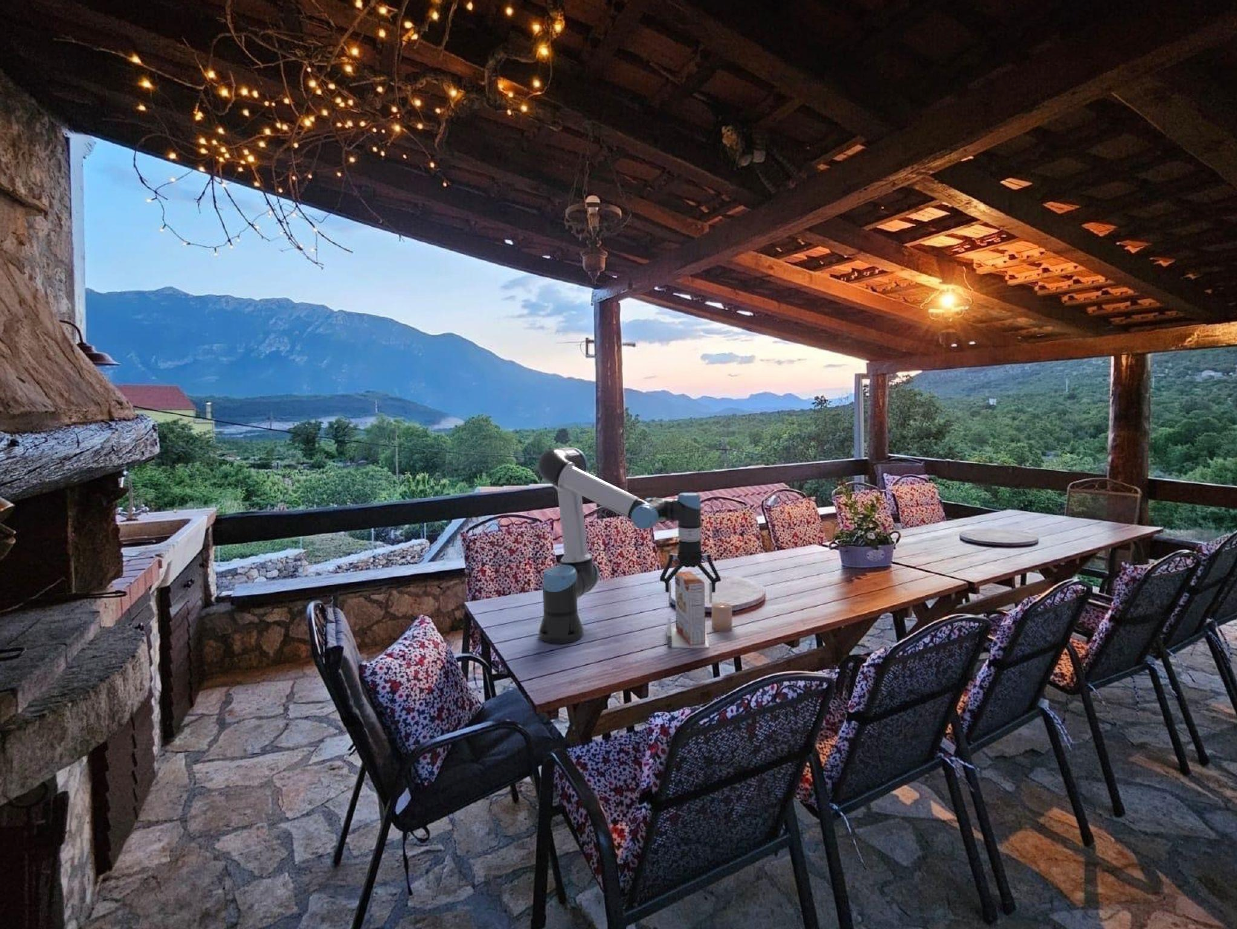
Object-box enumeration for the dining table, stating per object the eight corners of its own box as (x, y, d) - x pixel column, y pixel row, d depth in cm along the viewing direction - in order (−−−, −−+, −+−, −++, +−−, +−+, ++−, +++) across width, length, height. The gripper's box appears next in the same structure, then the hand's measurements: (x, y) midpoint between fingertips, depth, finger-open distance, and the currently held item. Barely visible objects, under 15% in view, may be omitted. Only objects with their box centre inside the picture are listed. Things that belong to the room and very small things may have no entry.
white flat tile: (667, 647, 179) (667, 635, 179) (667, 629, 195) (667, 618, 195) (708, 648, 178) (708, 636, 178) (705, 629, 194) (705, 618, 194)
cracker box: (674, 630, 193) (674, 571, 191) (691, 628, 194) (690, 570, 192) (688, 646, 179) (687, 583, 177) (705, 644, 180) (705, 581, 179)
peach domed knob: (712, 631, 192) (712, 609, 192) (711, 624, 199) (710, 602, 199) (733, 631, 192) (733, 609, 191) (730, 624, 199) (730, 602, 198)
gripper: (652, 541, 181) (652, 605, 183) (728, 541, 179) (729, 605, 181) (652, 537, 189) (653, 597, 190) (726, 536, 187) (726, 598, 188)
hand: (690, 601), depth 185 cm, fingers open, 13 cm apart
